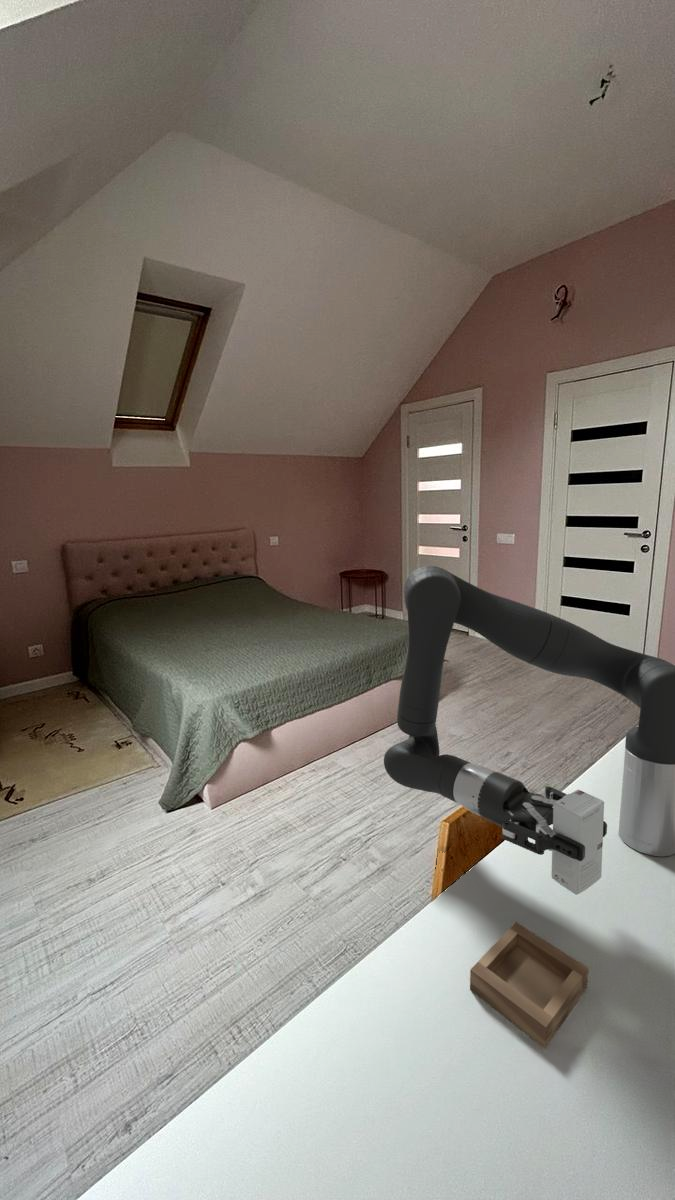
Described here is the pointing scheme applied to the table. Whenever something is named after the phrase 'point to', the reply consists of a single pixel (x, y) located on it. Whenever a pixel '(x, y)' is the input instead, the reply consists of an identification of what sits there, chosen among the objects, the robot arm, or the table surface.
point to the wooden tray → (529, 982)
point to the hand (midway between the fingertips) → (594, 841)
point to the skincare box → (579, 840)
